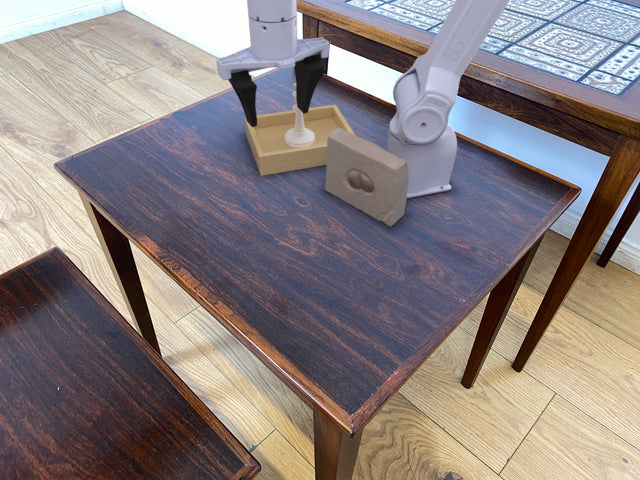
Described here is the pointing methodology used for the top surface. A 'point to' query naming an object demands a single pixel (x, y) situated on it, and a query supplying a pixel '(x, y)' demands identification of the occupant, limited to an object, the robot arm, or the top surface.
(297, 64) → the robot arm
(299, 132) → the chess piece
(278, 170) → the wooden tray
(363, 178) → the fossil
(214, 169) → the top surface
